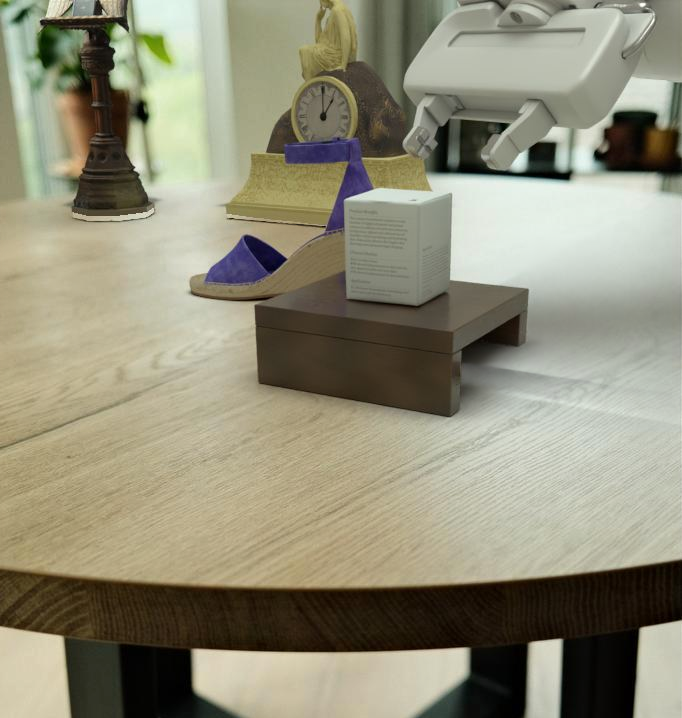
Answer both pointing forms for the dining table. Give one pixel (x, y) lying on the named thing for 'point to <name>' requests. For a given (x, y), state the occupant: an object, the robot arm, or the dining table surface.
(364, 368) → the low wooden riser
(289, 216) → the decorative clock
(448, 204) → the product box
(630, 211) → the dining table surface
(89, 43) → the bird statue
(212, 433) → the dining table surface
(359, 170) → the sandal
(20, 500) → the dining table surface
